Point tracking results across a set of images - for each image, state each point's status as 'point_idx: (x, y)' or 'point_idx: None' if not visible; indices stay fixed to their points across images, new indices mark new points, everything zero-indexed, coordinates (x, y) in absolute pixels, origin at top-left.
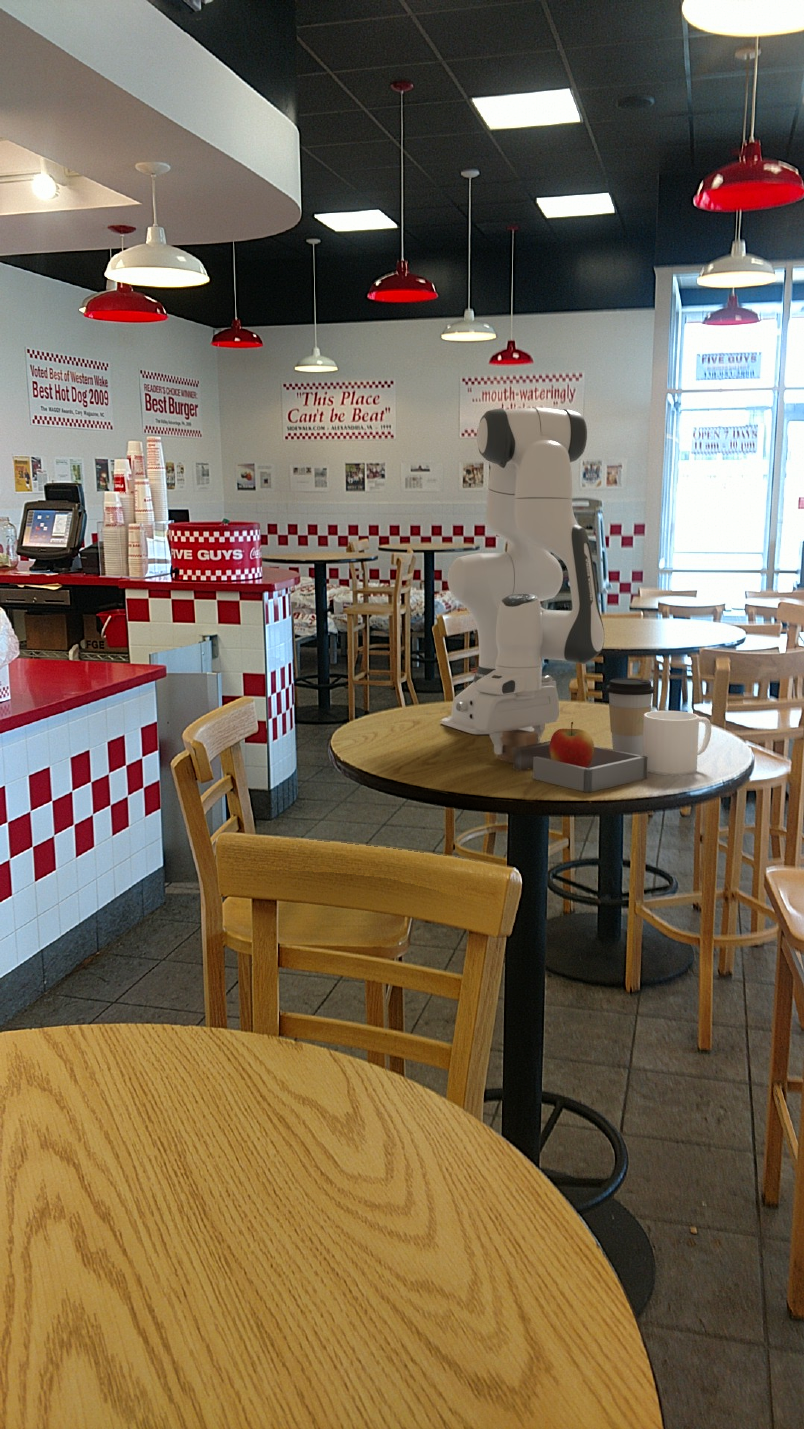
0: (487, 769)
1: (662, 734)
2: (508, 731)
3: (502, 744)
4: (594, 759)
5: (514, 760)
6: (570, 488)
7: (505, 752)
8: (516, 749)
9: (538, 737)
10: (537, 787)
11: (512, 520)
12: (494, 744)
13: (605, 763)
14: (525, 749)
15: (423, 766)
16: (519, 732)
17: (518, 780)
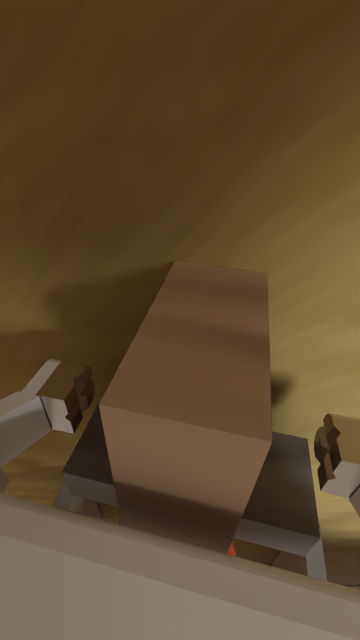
0: (13, 342)
1: None
2: (115, 485)
3: (43, 434)
4: (297, 561)
5: (88, 427)
6: None
7: (91, 397)
8: (66, 478)
9: (354, 507)
10: (39, 483)
11: None
12: (18, 396)
13: (285, 569)
14: (95, 499)
15: None
16: (151, 529)
17: (33, 447)
